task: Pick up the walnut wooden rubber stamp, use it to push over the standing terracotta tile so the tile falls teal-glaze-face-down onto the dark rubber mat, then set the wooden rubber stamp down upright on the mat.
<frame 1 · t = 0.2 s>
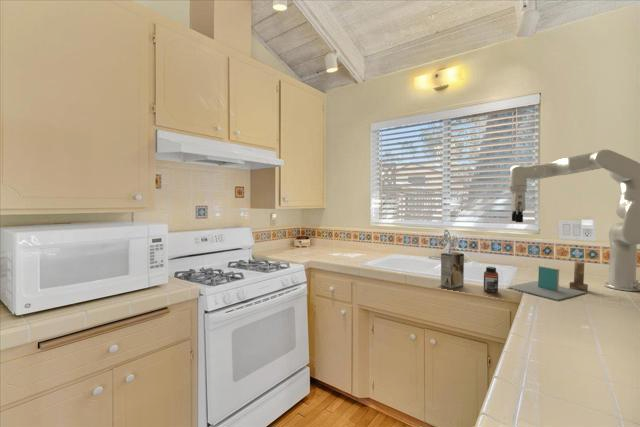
hand: (517, 221, 171), 31 cm above the worktop, tool pointing down, fingers open, 9 cm apart
coffee box: (452, 286, 159), on the worktop
tile: (548, 278, 151), point 6 cm above the worktop, touching mat
wooden rubber stamp: (578, 289, 152), on the worktop
mat: (545, 290, 150), on the worktop
supplement bottle: (490, 291, 149), on the worktop
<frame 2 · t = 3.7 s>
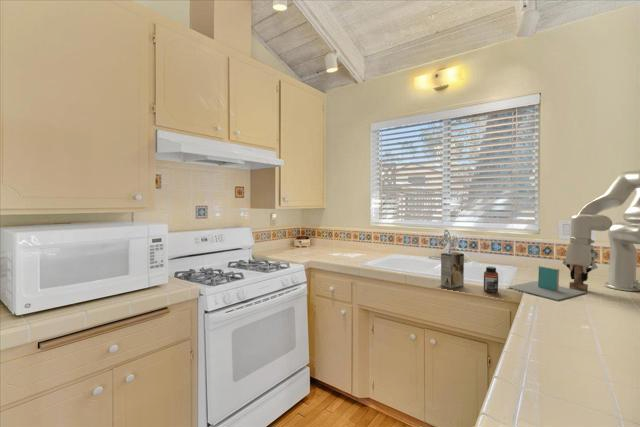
hand: (578, 279, 152), 5 cm above the worktop, tool pointing down, fingers closed on wooden rubber stamp, 3 cm apart
wooden rubber stamp: (578, 289, 152), on the worktop, touching gripper
everything else where it was.
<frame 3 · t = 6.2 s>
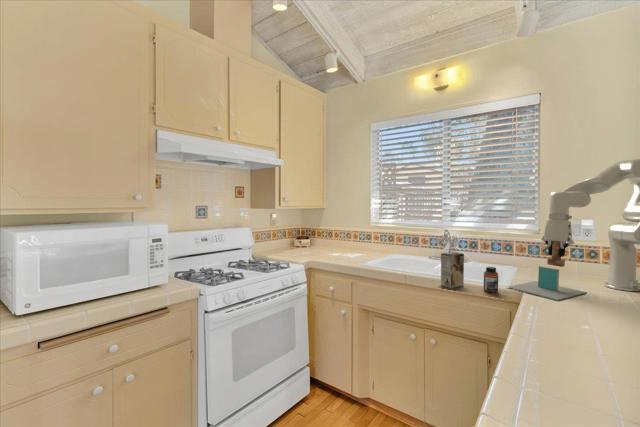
hand: (556, 255, 154), 16 cm above the worktop, tool pointing down, fingers closed on wooden rubber stamp, 3 cm apart
wooden rubber stamp: (555, 265, 154), point 11 cm above the worktop, touching gripper
everything else where it was.
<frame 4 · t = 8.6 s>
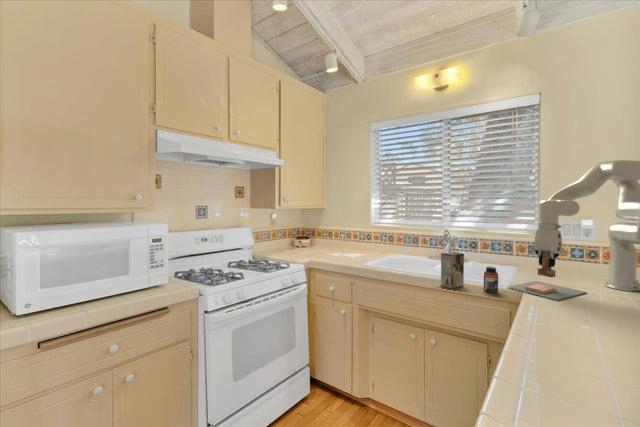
hand: (546, 265, 150), 12 cm above the worktop, tool pointing down, fingers closed on wooden rubber stamp, 3 cm apart
tile: (540, 288, 149), point 1 cm above the worktop, tilted 90°, touching mat
wooden rubber stamp: (546, 275, 150), point 7 cm above the worktop, touching gripper
everything else where it was.
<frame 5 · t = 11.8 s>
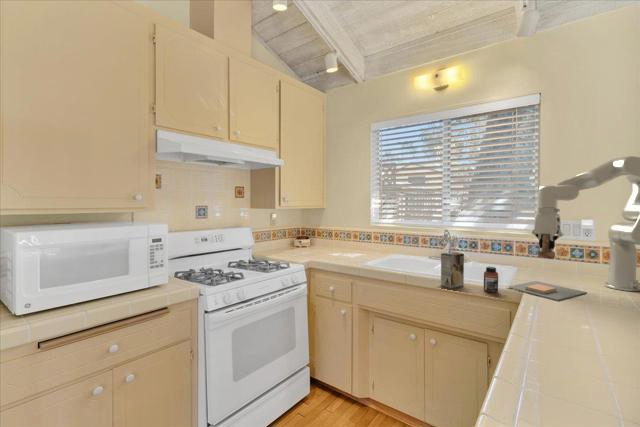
hand: (546, 247, 158), 19 cm above the worktop, tool pointing down, fingers closed on wooden rubber stamp, 3 cm apart
wooden rubber stamp: (546, 257, 158), point 14 cm above the worktop, touching gripper
everything else where it was.
when the fingers open (6 cm above the worktop, at t = 14.6 s): wooden rubber stamp stays where it is, resting on mat.
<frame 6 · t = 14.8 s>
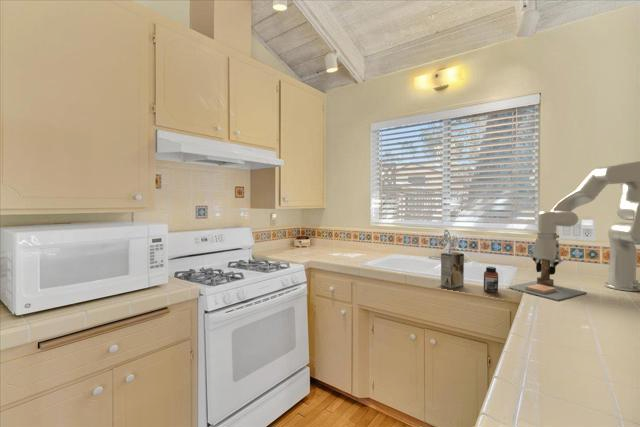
hand: (545, 272, 159), 7 cm above the worktop, tool pointing down, fingers open, 5 cm apart
wooden rubber stamp: (545, 284, 159), point 1 cm above the worktop, touching mat
everything else where it was.
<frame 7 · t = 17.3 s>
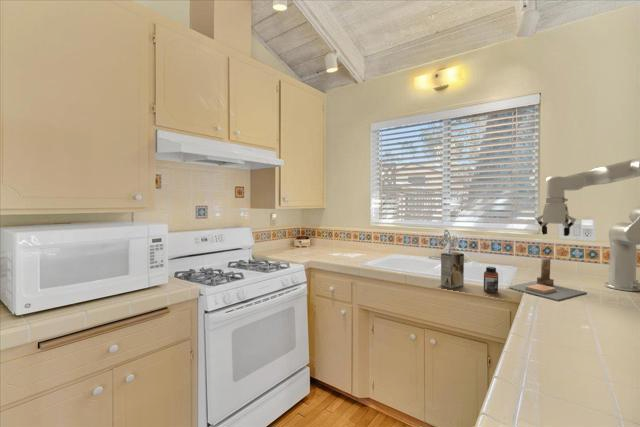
hand: (555, 234, 162), 25 cm above the worktop, tool pointing down, fingers open, 9 cm apart
nothing on the worktop moved.
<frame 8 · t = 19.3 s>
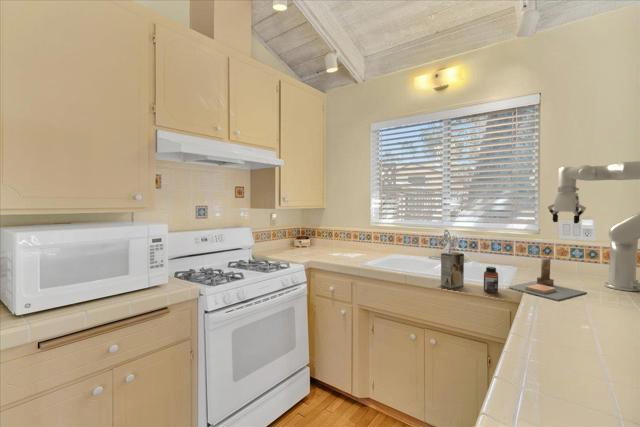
hand: (565, 222, 171), 30 cm above the worktop, tool pointing down, fingers open, 9 cm apart
nothing on the worktop moved.
at the end: tile inside the target area (0.2 cm from its centre), point 1.3 cm above the worktop; wooden rubber stamp tilted 0°; wooden rubber stamp inside the target area (0.0 cm from its centre), point 0.6 cm above the worktop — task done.
